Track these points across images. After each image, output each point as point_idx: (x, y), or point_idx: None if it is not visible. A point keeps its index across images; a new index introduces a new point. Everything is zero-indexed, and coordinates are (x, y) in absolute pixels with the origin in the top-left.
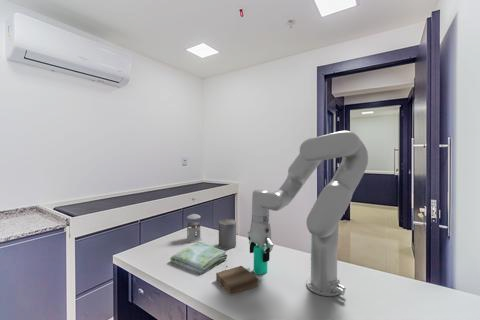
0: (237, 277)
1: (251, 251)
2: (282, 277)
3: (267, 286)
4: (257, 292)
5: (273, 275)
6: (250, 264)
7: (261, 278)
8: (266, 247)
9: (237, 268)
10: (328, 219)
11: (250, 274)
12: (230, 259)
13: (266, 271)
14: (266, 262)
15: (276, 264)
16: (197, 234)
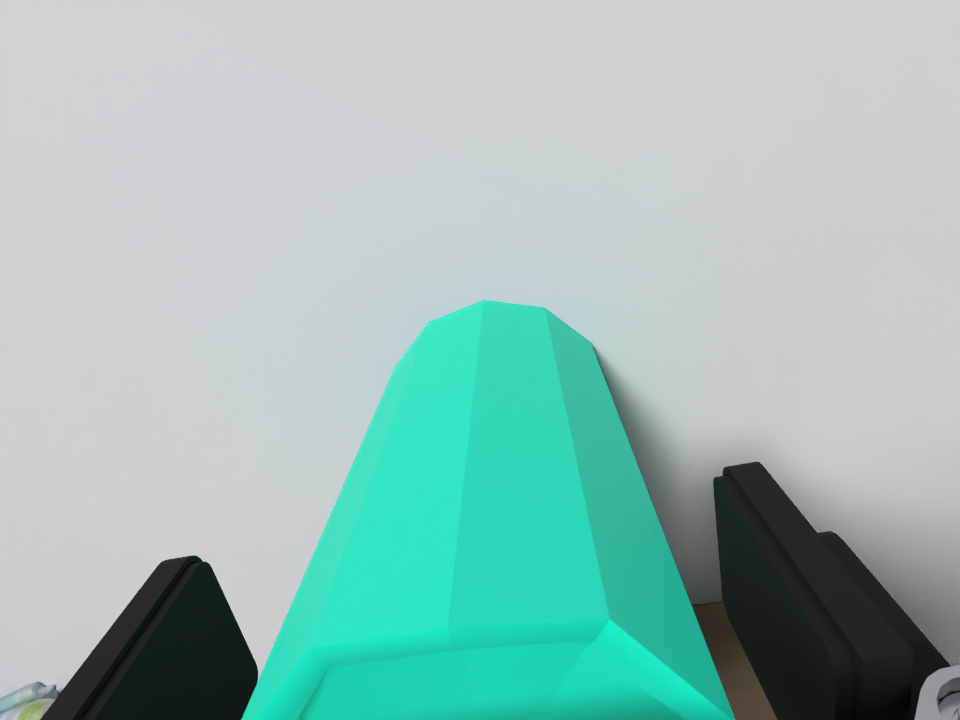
0: None
1: (236, 689)
2: (862, 166)
3: (926, 495)
4: (953, 637)
5: (723, 283)
6: (261, 459)
7: (708, 481)
8: (555, 641)
9: None
10: None
11: (752, 713)
12: (59, 635)
13: (595, 354)
14: (623, 431)
15: (373, 7)
16: None
